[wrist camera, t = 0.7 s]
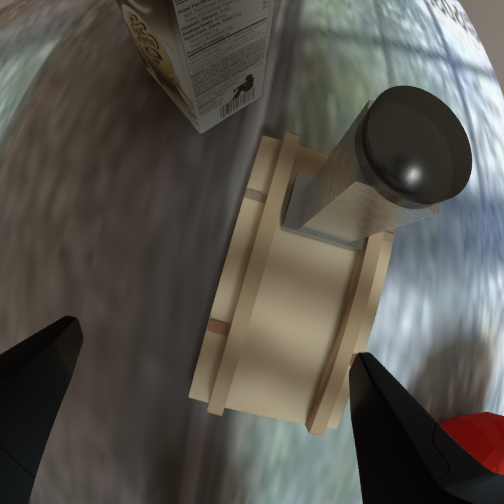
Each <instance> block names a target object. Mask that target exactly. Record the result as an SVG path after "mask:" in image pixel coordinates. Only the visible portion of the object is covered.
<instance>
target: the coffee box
mask: <svg viewBox="0 0 504 504" xmlns="http://www.w3.org/2000/svg"><path fill="white" fill-rule="evenodd" d="M116 2H117V4H118V6H119V9H120V11H121V13H122V15H123V18H124V20H125V22H126V24H127V27H128V29H129V31H130V34H131V36H132V38H133V40H134V42H135V44H136V47H137V49H138V51H139V53H140V55H141V58H142V60H143V62H144V64H145V66H146V68H147V70H148V72H149V73H150V74H151V75H152V76H153V78H154V79H155V80H156V81H157V82H158V84H159V85H160V86H161V87H162V88H163V89H164V91H165V92H166V93H167V94H168V95H169V97H170V98H171V99H172V100H173V101H174V103H175V104H176V105H177V106H178V108H179V109H180V110H181V111H182V112H183V114H184V115H185V116H186V117H187V118H188V120H189V121H190V122H191V123H192V125H193V126H194V127H195V128H196V130H197V131H198V132H199V133H200V134H202V133H204V132H206V131H207V130H209V129H210V128H212V127H213V126H215V125H216V124H218V123H220V122H221V121H223V120H224V119H226V118H227V117H229V116H231V115H232V114H234V113H235V112H237V111H239V110H240V109H242V108H244V107H245V106H247V105H249V104H250V103H252V102H254V101H255V100H257V99H259V98H261V97H262V93H263V84H264V77H265V69H266V61H267V53H268V46H269V39H270V32H271V25H272V18H273V11H274V3H275V0H116Z"/></svg>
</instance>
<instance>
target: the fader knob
mask: <svg viewBox="0 0 504 504" xmlns="http://www.w3.org/2000/svg"><path fill="white" fill-rule="evenodd" d="M471 170H472V153H471V147H470V143H469V140H468V137H467V134H466V132H465V130H464V128H463V126H462V124H461V123H460V121H459V120H458V118H457V117H456V115H455V114H454V113H453V112H452V110H451V109H450V108H449V107H448V106H447V105H446V104H445V103H443V102H442V101H441V100H440V99H439V98H437V97H436V96H434V95H433V94H431V93H429V92H427V91H425V90H423V89H420V88H417V87H412V86H395V87H392V88H389V89H387V90H385V91H384V92H383V93H381V94H380V95H379V96H378V97H377V99H376V100H375V101H372V100H369V101H368V102H367V104H366V105H365V107H364V108H363V109H362V111H361V112H360V114H359V115H358V116H357V118H356V119H355V121H354V122H353V123H352V125H351V126H350V128H349V129H348V130H347V132H346V133H345V135H344V136H343V137H342V139H341V140H340V142H339V143H338V144H337V146H336V147H335V149H334V150H333V151H332V153H331V154H330V156H329V157H328V158H327V160H326V161H325V163H324V164H323V165H322V167H321V168H320V170H319V171H318V172H317V174H316V175H315V177H311V176H308V175H304V174H301V173H297V175H296V177H295V179H294V181H293V185H292V189H291V193H290V197H289V200H288V204H287V208H286V212H285V215H284V219H283V223H282V226H281V230H282V231H285V232H289V233H292V234H296V235H299V236H302V237H306V238H309V239H313V240H316V241H319V242H323V243H326V244H329V245H333V246H336V247H339V248H343V249H346V250H349V251H353V252H356V251H360V250H362V247H363V243H364V238H365V237H368V236H371V235H374V234H377V233H380V232H383V231H387V230H390V229H393V228H396V227H399V226H402V225H405V224H408V223H411V222H414V221H417V220H420V219H423V218H426V217H429V216H432V215H435V214H438V213H439V208H440V202H442V201H445V200H447V199H450V198H452V197H454V196H456V195H458V194H459V193H460V192H461V191H462V190H463V189H464V187H465V186H466V184H467V182H468V180H469V178H470V175H471Z"/></svg>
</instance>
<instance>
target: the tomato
mask: <svg viewBox="0 0 504 504" xmlns="http://www.w3.org/2000/svg"><path fill="white" fill-rule="evenodd" d="M439 425H440V426H441V427H442V428H443V429H444V430H445V431H446V432H447V433H448V434H449V435H450V436H451V437H452V438H453V439H454V440H455V441H456V442H457V443H458V444H459V445H461V446H462V447H463V448H464V449H465V450H466V451H467V452H469V453H470V454H471V455H472V456H473V457H474V458H475V459H477V460H478V461H479V462H480V463H481V464H482V465H484V466H485V467H486V468H487V469H489V470H491V471H493V472H495V473H498V474H502V475H504V416H502V415H498V414H494V413H490V412H483V413H477V414H470V415H464V416H458V417H454V418H451V419H448V420H446V421H444V422H443V423H441V424H439Z"/></svg>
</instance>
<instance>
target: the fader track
mask: <svg viewBox="0 0 504 504" xmlns="http://www.w3.org/2000/svg"><path fill="white" fill-rule="evenodd" d="M299 139H300V136H298V135H295V134H291V133H288V132H286V133H285V136H284V140H283V141H282V140H278V139H275V138H271V137H267V136H264V135H263V136H262V139H261V142H260V146H259V149H258V152H257V155H256V159H255V162H254V165H253V168H252V172H251V175H250V178H249V182H248V185H247V188H246V192H245V195H244V199H243V202H242V205H241V209H240V212H239V215H238V219H237V222H236V226H235V229H234V233H233V236H232V240H231V243H230V246H229V250H228V253H227V257H226V260H225V264H224V267H223V271H222V275H221V278H220V282H219V285H218V289H217V292H216V296H215V300H214V303H213V307H212V310H211V314H210V318H209V321H208V325H207V329H206V332H205V336H204V340H203V343H202V347H201V351H200V355H199V358H198V362H197V366H196V370H195V374H194V377H193V381H192V385H191V389H190V393H189V398H193V399H196V400H199V401H203V402H206V403H209V406H208V410H207V412H209V413H213V414H217V415H220V416H222V414H223V411H224V407H225V408H229V409H233V410H237V411H241V412H245V413H249V414H254V415H258V416H263V417H267V418H272V419H277V420H282V421H288V422H293V423H299V424H305V425H306V428H307V430H308V432H309V434H314V435H321V436H323V434H324V431H325V429H326V428H332V429H337V427H338V424H339V422H340V419H341V417H342V414H343V412H344V409H345V407H346V404H347V401H348V399H349V396H350V390H349V370H350V367H351V365H352V363H353V361H354V358H355V356H356V354H357V353H359V352H365V349H366V346H367V343H368V340H369V336H370V333H371V330H372V326H373V323H374V319H375V316H376V312H377V308H378V305H379V301H380V297H381V293H382V289H383V285H384V281H385V277H386V272H387V268H388V264H389V259H390V255H391V250H392V245H393V240H394V235H395V230H396V228H393V229H390V230H387V231H383V232H380V233H377V234H374V235H371V236H368V237H365V238H364V243H363V247H362V250H360V251H356V252H353V251H349V250H346V249H343V248H339V247H336V246H333V245H329V244H326V243H323V242H319V241H316V240H313V239H309V238H306V237H302V236H299V235H296V234H292V233H289V232H285V231H282V230H281V226H282V223H283V219H284V215H285V212H286V208H287V204H288V200H289V197H290V193H291V189H292V185H293V181H294V179H295V177H296V175H297V173H301V174H304V175H308V176H311V177H315V175H316V174H317V172H318V171H319V170H320V168H321V167H322V165H323V164H324V163H325V161H326V160H327V158H328V157H329V156H330V155H328V154H325V153H322V152H318V151H315V150H312V149H309V148H306V147H302V146H299V145H298V143H299Z"/></svg>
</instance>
